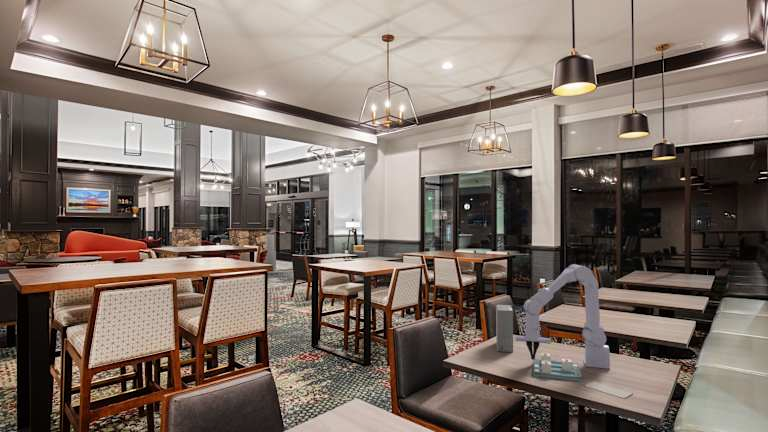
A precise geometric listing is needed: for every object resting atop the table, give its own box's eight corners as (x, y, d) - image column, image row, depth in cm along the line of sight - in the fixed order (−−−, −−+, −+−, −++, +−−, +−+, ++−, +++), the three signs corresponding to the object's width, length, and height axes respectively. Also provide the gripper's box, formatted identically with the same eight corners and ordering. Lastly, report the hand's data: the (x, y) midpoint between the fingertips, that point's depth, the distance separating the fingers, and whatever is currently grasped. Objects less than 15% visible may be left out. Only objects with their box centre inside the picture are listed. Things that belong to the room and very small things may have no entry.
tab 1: (549, 362, 181) (549, 352, 181) (550, 365, 177) (550, 354, 177) (541, 361, 182) (541, 351, 182) (541, 364, 178) (541, 353, 178)
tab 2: (550, 371, 170) (550, 360, 170) (551, 374, 167) (551, 363, 167) (541, 370, 171) (541, 359, 171) (542, 373, 168) (541, 362, 168)
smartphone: (624, 398, 146) (583, 385, 158) (624, 400, 146) (583, 386, 158) (633, 393, 150) (592, 381, 162) (633, 395, 150) (592, 382, 162)
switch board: (578, 367, 178) (578, 363, 178) (582, 381, 162) (582, 377, 162) (533, 362, 184) (533, 359, 184) (533, 376, 168) (533, 372, 168)
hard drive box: (513, 352, 198) (513, 311, 199) (497, 351, 200) (496, 310, 200) (511, 343, 213) (510, 304, 214) (496, 342, 215) (495, 304, 215)
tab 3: (571, 369, 173) (570, 357, 173) (571, 372, 169) (571, 360, 169) (561, 368, 174) (561, 357, 174) (562, 371, 170) (562, 359, 171)
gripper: (550, 326, 183) (550, 357, 183) (515, 324, 188) (516, 354, 187) (550, 330, 176) (551, 362, 176) (514, 328, 181) (515, 359, 181)
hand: (533, 358), depth 181 cm, fingers closed
